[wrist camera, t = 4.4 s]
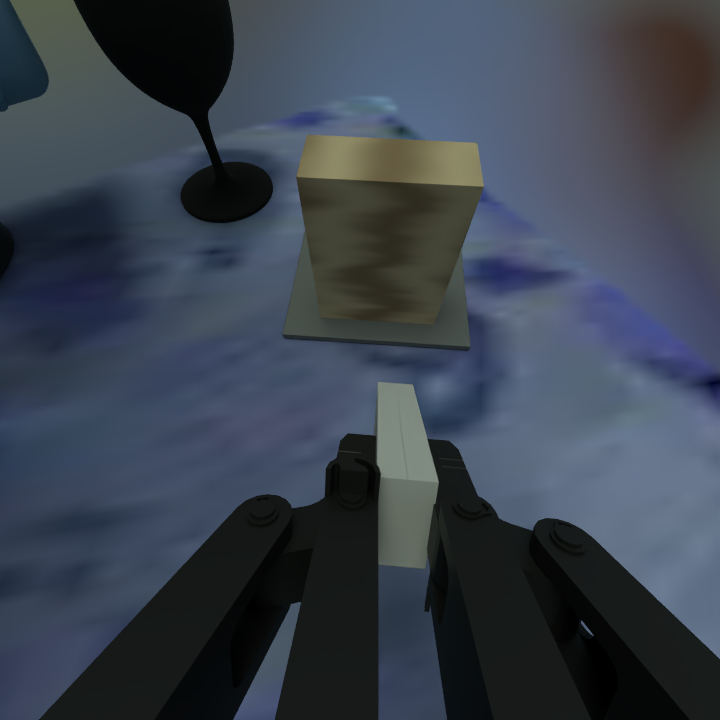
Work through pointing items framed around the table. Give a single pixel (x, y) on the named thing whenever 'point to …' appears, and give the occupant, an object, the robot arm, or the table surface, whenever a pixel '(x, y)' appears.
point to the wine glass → (182, 85)
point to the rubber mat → (310, 326)
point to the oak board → (386, 223)
